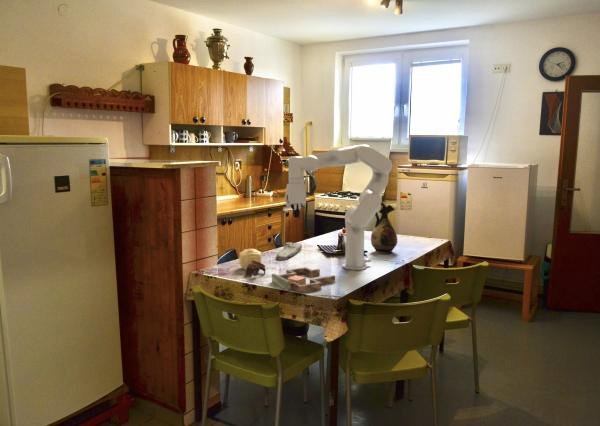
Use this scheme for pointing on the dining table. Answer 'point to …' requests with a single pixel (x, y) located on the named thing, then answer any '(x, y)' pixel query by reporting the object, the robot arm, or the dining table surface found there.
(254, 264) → the brown animal figurine
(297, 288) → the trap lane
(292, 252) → the elongated rock
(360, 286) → the dining table surface
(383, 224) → the ceramic jug
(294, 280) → the block
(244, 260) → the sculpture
